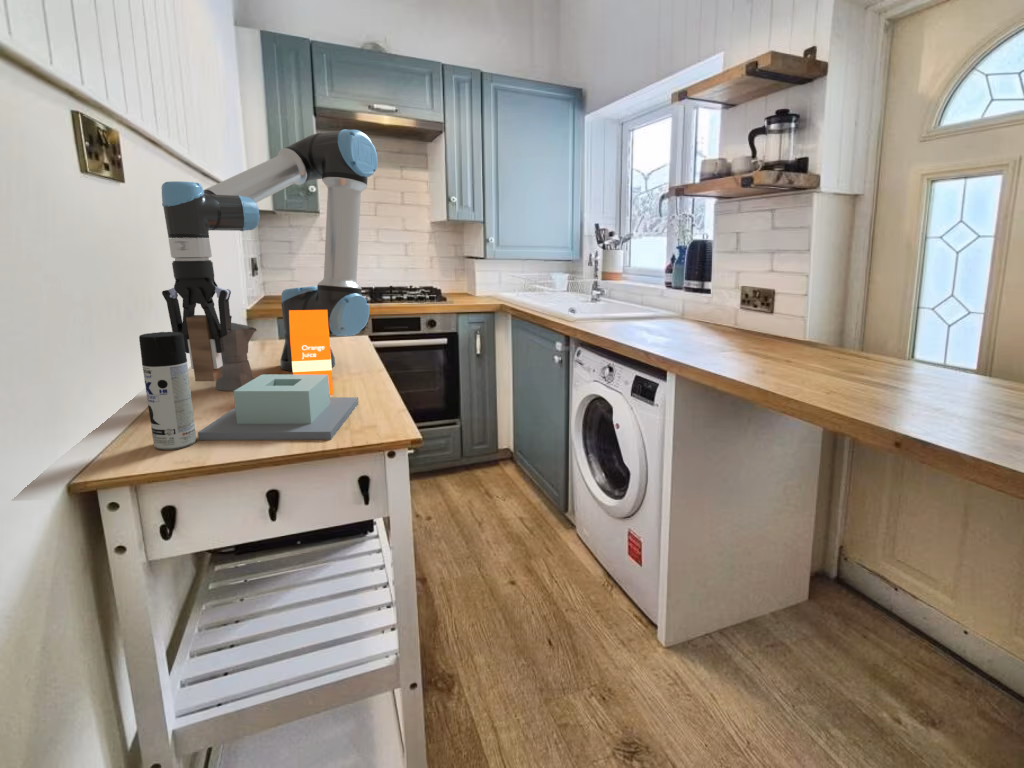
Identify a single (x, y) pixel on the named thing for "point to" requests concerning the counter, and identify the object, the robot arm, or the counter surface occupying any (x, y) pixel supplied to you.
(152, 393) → the spray can
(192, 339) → the peg
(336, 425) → the socket block
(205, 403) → the counter surface
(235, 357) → the coffeepot
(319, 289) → the robot arm
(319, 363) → the orange juice
